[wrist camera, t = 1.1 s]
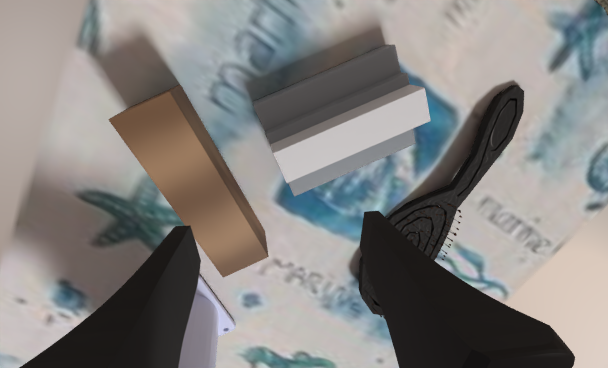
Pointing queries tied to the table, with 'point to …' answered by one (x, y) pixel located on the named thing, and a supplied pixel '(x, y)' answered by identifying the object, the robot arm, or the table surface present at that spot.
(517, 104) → the hairbrush
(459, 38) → the table surface
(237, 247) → the walnut stick
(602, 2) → the beverage can
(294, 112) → the ridge stand
